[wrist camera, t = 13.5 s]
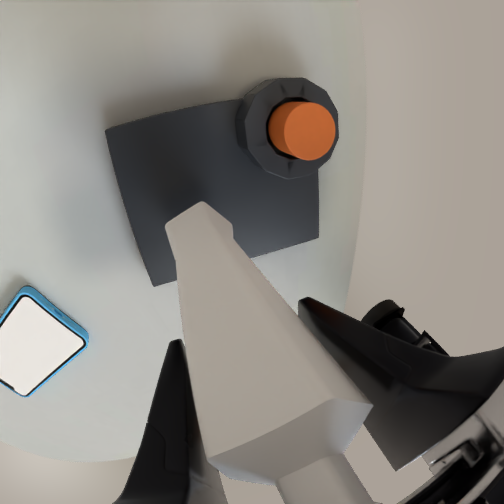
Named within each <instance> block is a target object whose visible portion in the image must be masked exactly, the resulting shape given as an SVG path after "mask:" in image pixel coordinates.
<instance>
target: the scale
mask: <svg viewBox="0 0 504 504" xmlns="http://www.w3.org/2000/svg"><path fill="white" fill-rule="evenodd" d="M287 102H312V103H317V104H319V105H321V106H323V107H324V108H326V109H327V110H328V111H329V113H330V114H331V116H332V118H333V120H334V123H335V138H334V142H333V144H332V146H331V148H330V149H329V150H328V152H327V153H326V154H324V155H323V156H322V157H320V158H318V159H315V160H303V159H300V158H297V157H295V156H292V155H290V154H287V153H285V152H283V151H281V150H279V149H278V148H277V147H276V146H275V145H274V144H273V142H272V141H271V139H270V136H269V131H268V125H269V120H270V117H271V115H272V113H273V112H274V111H275V109H276V108H278V107H279V106H280V105H282V104H284V103H287ZM337 112H338V111H337V110H336V108H335V106H334V104H333V102H332V101H331V99H330V97H329V95H328V94H327V92H326V91H325V90H324V89H322V88H320V87H319V86H317V85H315V84H314V83H312V82H310V81H309V80H307V79H305V78H278V79H272V80H267V81H264V82H263V83H261V84H260V85H259V86H257V87H256V88H254V89H253V90H251V91H250V92H249V93H247V94H246V95H245V97H244V99H236V100H229V101H222V102H216V103H209V104H204V105H198V106H193V107H188V108H183V109H178V110H174V111H170V112H165V113H161V114H157V115H153V116H149V117H145V118H142V119H138V120H135V121H131V122H128V123H124V124H121V125H118V126H115V127H112V128H109V129H106V130H105V134H106V138H107V143H108V147H109V151H110V155H111V159H112V163H113V167H114V171H115V174H116V178H117V182H118V185H119V189H120V192H121V196H122V199H123V202H124V206H125V209H126V212H127V215H128V218H129V221H130V224H131V227H132V230H133V233H134V236H135V239H136V242H137V245H138V248H139V250H140V253H141V256H142V259H143V261H144V264H145V267H146V269H147V272H148V274H149V277H150V279H151V282H152V284H153V286H154V287H155V286H158V285H162V284H165V283H169V282H172V281H175V280H177V271H176V260H175V258H174V255H173V252H172V249H171V246H170V242H169V239H168V236H167V233H166V229H165V225H166V223H167V222H169V221H170V220H172V219H173V218H175V217H176V216H178V215H179V214H181V213H183V212H184V211H186V210H187V209H189V208H190V207H192V206H194V205H195V204H197V203H198V202H201V201H202V202H205V203H207V204H208V205H209V206H210V207H212V208H213V209H214V210H215V211H217V212H218V213H219V214H220V215H222V216H223V217H224V218H225V219H226V220H228V221H229V222H230V223H231V224H232V227H233V239H234V240H235V241H236V243H237V244H238V245H239V246H240V247H241V249H242V250H243V251H244V252H245V253H246V255H247V256H248V257H249V258H253V257H256V256H260V255H263V254H267V253H270V252H273V251H277V250H280V249H283V248H287V247H290V246H293V245H297V244H300V243H303V242H307V241H310V240H313V239H316V238H319V186H318V168H320V167H321V166H322V165H323V164H324V163H326V162H327V161H328V160H329V159H330V157H331V155H332V152H333V150H334V148H335V145H336V143H337V141H338V138H339V137H338V136H339V128H338V113H337Z"/></svg>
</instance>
